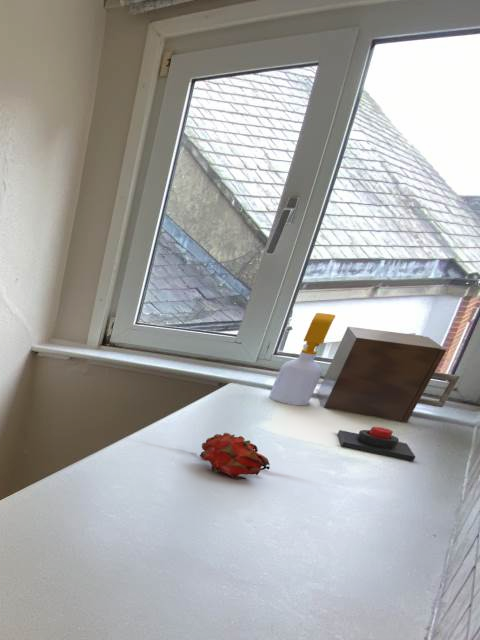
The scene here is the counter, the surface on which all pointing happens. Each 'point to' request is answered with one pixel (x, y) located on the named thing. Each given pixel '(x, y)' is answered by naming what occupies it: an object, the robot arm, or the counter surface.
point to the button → (381, 432)
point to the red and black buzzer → (375, 445)
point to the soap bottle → (302, 367)
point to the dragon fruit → (233, 455)
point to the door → (428, 377)
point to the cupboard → (377, 372)
